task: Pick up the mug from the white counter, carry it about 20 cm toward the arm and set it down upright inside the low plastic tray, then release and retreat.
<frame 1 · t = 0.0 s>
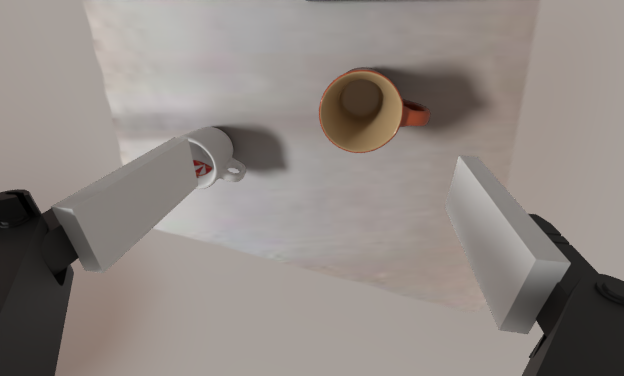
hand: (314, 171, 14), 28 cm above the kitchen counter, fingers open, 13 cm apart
cup: (225, 148, 46), on the kitchen counter
mug: (373, 96, 39), on the kitchen counter
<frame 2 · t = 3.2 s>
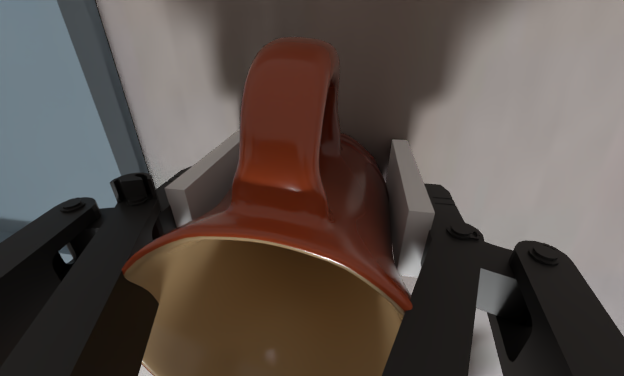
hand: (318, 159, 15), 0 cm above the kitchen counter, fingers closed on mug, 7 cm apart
mug: (322, 155, 16), on the kitchen counter, touching gripper
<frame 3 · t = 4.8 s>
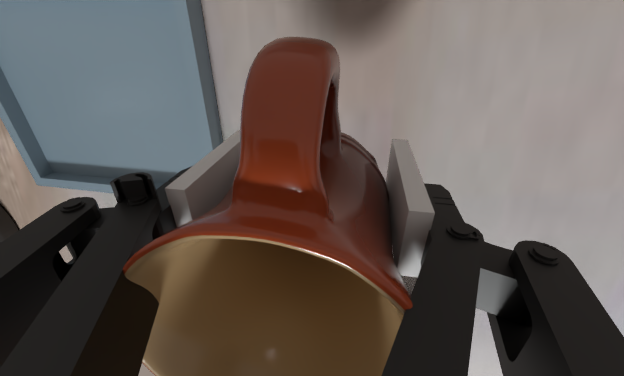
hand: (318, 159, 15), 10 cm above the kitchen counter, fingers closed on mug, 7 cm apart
tray: (109, 102, 27), on the kitchen counter
mug: (322, 155, 16), point 9 cm above the kitchen counter, touching gripper
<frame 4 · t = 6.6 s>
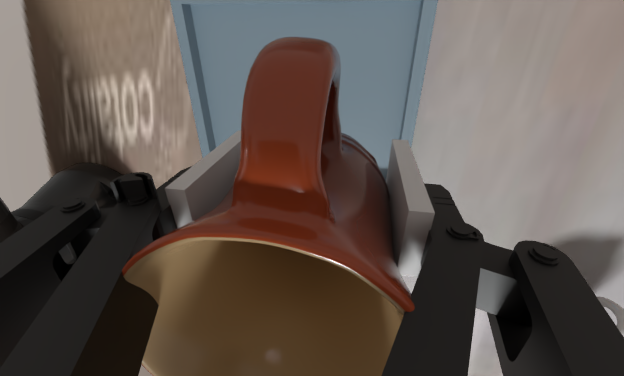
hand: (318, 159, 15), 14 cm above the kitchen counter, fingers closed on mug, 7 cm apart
cup: (550, 299, 35), on the kitchen counter
tray: (301, 98, 28), on the kitchen counter
mug: (323, 155, 16), point 14 cm above the kitchen counter, touching gripper
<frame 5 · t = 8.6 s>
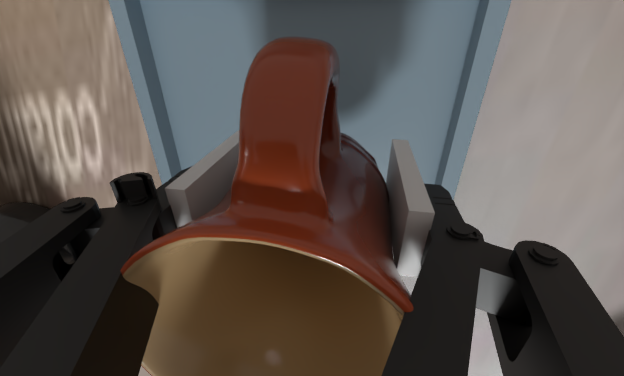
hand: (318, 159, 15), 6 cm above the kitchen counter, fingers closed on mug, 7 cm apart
tray: (300, 126, 21), on the kitchen counter
mug: (322, 156, 16), point 5 cm above the kitchen counter, touching gripper
when the fingers open (2 cm above the kitchen counter, at t = 10.2 s): mug drops 1 cm, resting on tray.
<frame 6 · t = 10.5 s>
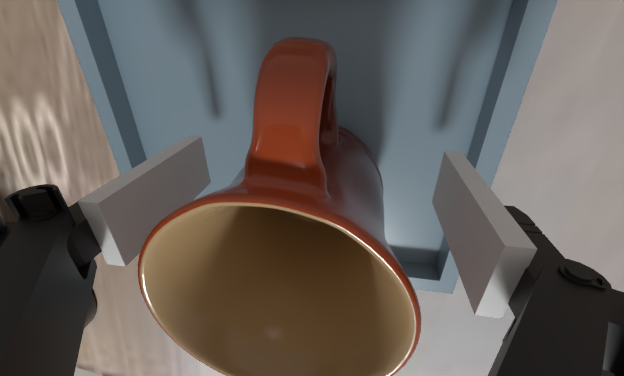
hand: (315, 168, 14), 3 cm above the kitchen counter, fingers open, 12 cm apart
tray: (291, 143, 17), on the kitchen counter
mug: (322, 148, 17), resting on tray
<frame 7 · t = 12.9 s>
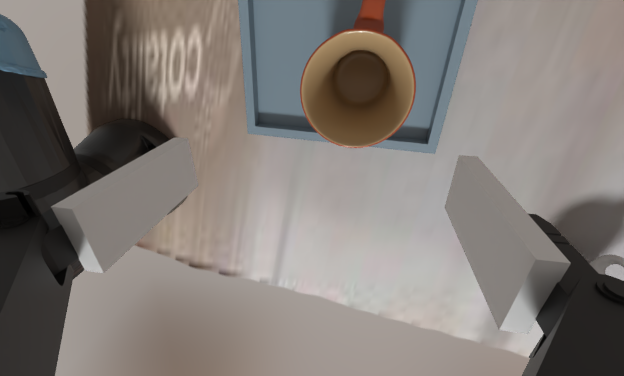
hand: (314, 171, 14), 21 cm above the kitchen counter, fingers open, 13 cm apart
cup: (562, 262, 37), on the kitchen counter
tray: (346, 57, 30), on the kitchen counter
mug: (364, 59, 30), resting on tray
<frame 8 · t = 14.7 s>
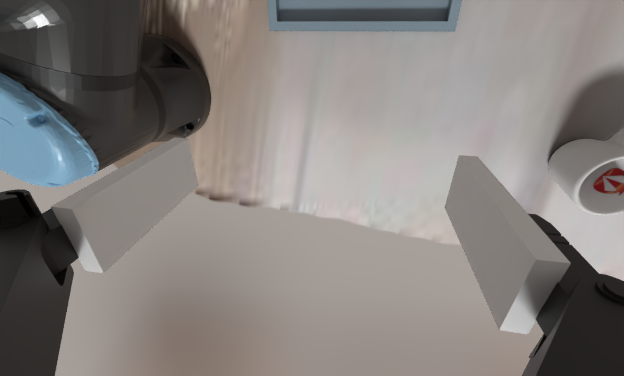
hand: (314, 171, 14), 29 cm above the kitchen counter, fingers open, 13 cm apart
cup: (580, 150, 38), on the kitchen counter
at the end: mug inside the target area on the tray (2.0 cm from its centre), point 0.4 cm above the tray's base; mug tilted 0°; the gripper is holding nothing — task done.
